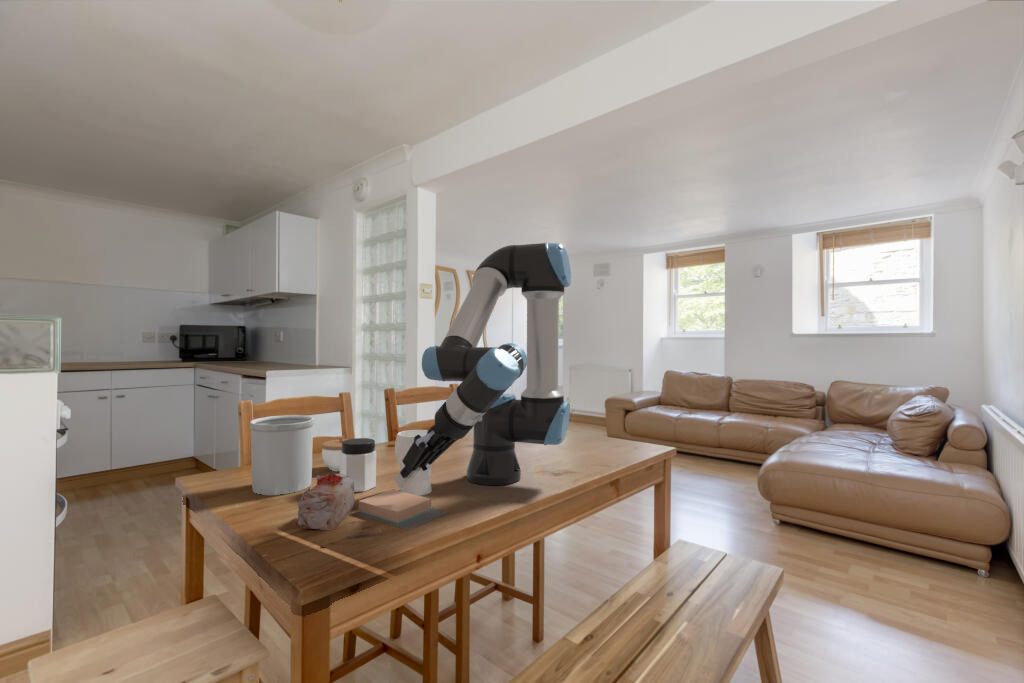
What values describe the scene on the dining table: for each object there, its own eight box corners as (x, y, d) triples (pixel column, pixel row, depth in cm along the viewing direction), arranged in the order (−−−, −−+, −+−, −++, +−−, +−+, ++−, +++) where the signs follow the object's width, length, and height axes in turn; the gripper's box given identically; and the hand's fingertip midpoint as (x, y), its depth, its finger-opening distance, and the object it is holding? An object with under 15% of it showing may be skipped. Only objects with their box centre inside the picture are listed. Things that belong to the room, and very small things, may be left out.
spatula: (380, 532, 93) (380, 527, 93) (382, 539, 89) (382, 533, 89) (320, 541, 88) (320, 536, 88) (320, 549, 85) (320, 543, 85)
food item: (335, 535, 91) (336, 484, 91) (294, 535, 91) (294, 484, 91) (357, 510, 105) (358, 466, 105) (321, 510, 105) (322, 466, 105)
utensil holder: (284, 499, 111) (285, 425, 112) (234, 493, 115) (235, 422, 116) (325, 482, 126) (326, 416, 126) (279, 477, 130) (280, 413, 130)
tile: (431, 498, 104) (393, 489, 110) (397, 512, 95) (358, 500, 102) (431, 509, 104) (393, 499, 110) (397, 523, 95) (358, 512, 102)
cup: (413, 503, 110) (414, 439, 110) (385, 494, 116) (386, 433, 116) (446, 492, 118) (447, 432, 118) (418, 484, 124) (418, 427, 125)
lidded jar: (316, 473, 133) (316, 440, 134) (327, 464, 144) (328, 433, 144) (354, 473, 134) (355, 440, 134) (363, 464, 145) (363, 433, 145)
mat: (448, 514, 102) (448, 512, 102) (407, 532, 92) (408, 529, 92) (396, 500, 111) (396, 498, 111) (354, 516, 101) (354, 513, 101)
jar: (380, 488, 120) (380, 442, 120) (348, 495, 115) (349, 446, 115) (366, 480, 127) (367, 436, 127) (336, 486, 122) (336, 440, 122)
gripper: (449, 432, 86) (384, 506, 95) (490, 423, 97) (428, 489, 106) (427, 401, 89) (367, 475, 98) (469, 395, 100) (412, 463, 109)
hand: (399, 483), depth 102 cm, fingers closed
